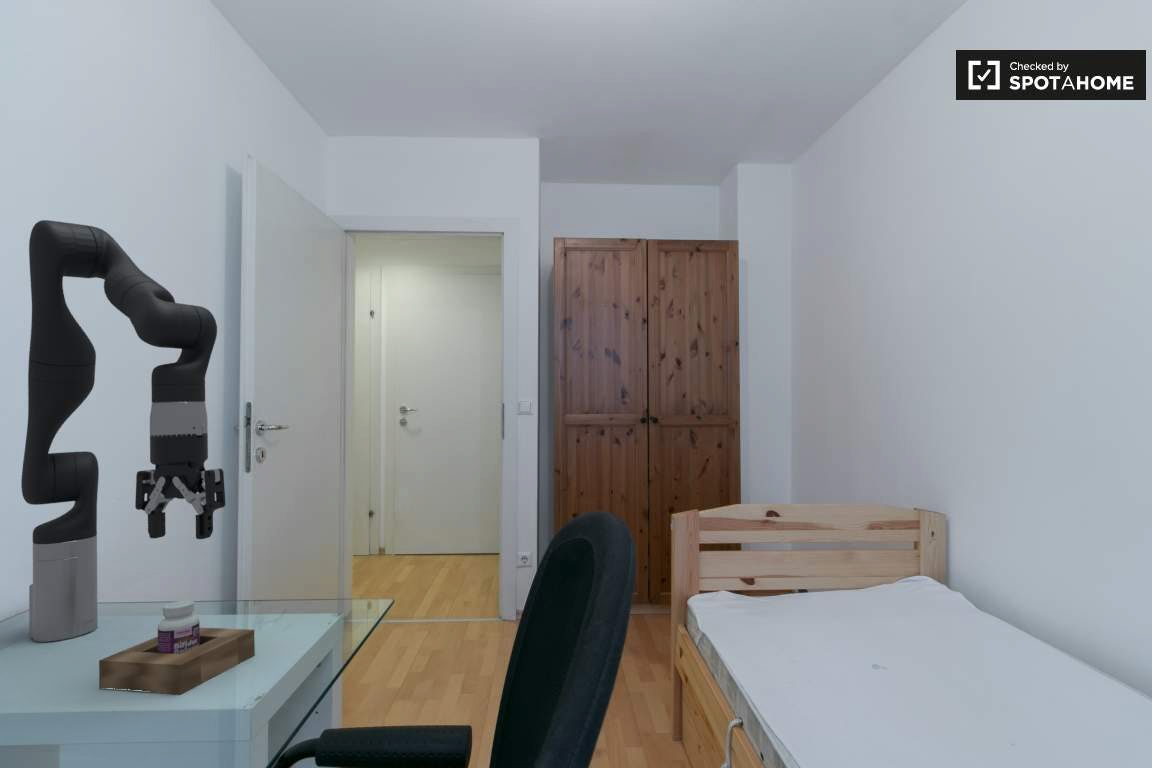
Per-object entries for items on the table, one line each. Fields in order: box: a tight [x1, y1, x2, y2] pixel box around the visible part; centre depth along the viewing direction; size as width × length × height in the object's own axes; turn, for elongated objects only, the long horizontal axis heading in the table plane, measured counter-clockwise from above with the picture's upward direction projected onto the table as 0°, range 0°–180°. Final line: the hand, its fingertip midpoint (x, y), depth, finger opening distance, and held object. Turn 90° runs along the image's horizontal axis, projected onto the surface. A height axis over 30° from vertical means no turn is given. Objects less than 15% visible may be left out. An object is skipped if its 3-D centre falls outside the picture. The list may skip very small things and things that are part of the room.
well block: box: [98, 627, 256, 695], centre depth 94 cm, size 14×14×4 cm
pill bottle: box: [157, 599, 201, 654], centre depth 94 cm, size 5×5×10 cm
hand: (180, 537), depth 95 cm, fingers open, 8 cm apart
